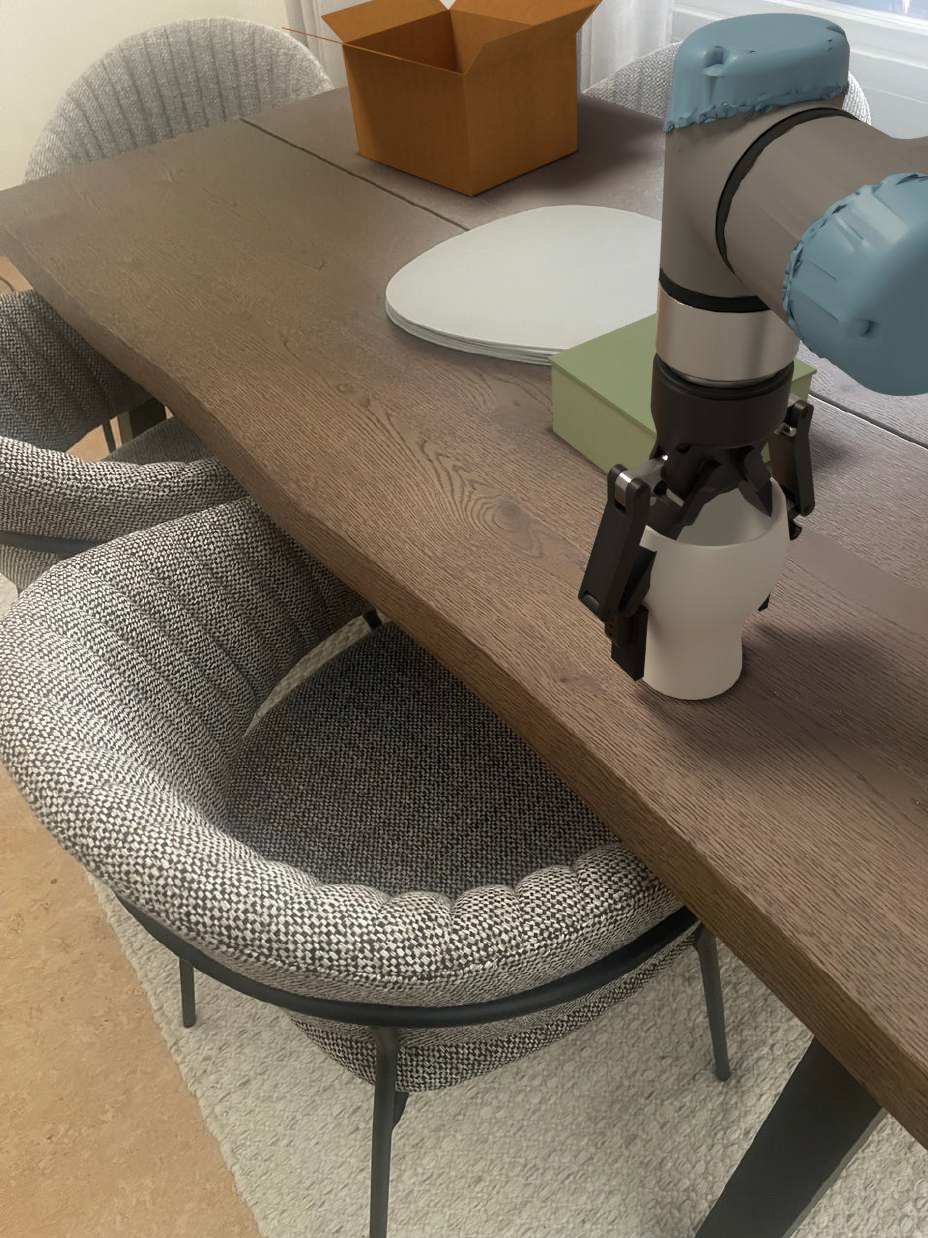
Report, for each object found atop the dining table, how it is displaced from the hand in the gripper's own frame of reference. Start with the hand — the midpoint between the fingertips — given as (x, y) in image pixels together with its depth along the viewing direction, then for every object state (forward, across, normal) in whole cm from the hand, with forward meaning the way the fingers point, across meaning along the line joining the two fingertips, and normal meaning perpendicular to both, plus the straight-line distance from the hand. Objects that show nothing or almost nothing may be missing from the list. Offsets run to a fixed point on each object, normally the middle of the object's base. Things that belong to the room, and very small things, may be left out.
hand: (690, 632), depth 66 cm
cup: (+3, 0, 0) cm, 3 cm away
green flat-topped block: (+3, -17, -22) cm, 28 cm away
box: (+3, -41, -100) cm, 108 cm away
